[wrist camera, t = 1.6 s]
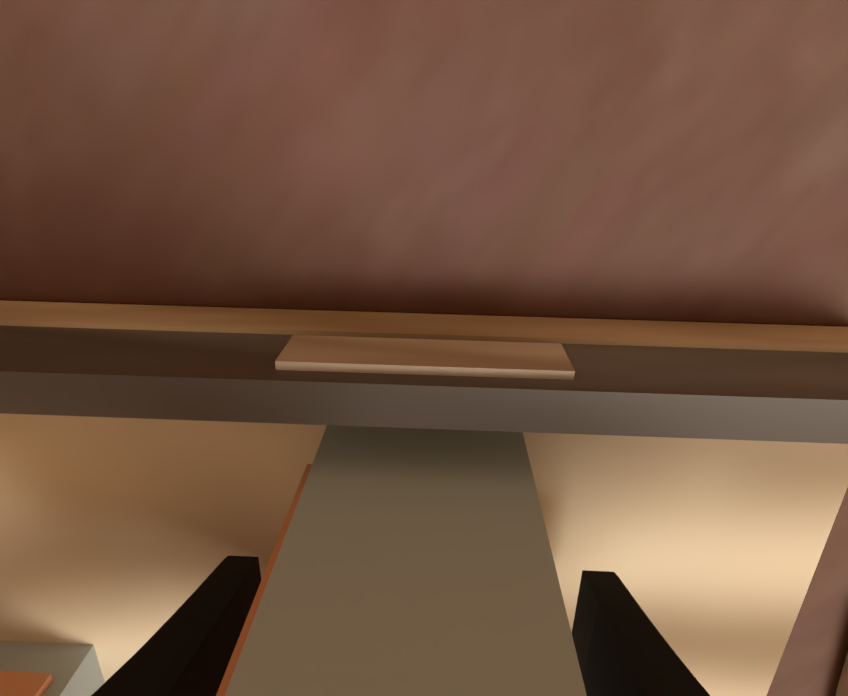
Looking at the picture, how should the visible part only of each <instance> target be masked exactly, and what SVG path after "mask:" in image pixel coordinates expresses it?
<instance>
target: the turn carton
mask: <svg viewBox="0 0 848 696" xmlns="http://www.w3.org/2000/svg"><path fill="white" fill-rule="evenodd" d="M216 696H587V695H586V691H585V686H584V682H583V678H582V674H581V670H580V666H579V662H578V658H577V654H576V650H575V645H574V641H573V637H572V633H571V629H570V625H569V621H568V617H567V613H566V609H565V604H564V600H563V596H562V592H561V588H560V584H559V580H558V576H557V572H556V568H555V563H554V559H553V555H552V551H551V547H550V543H549V539H548V535H547V531H546V527H545V522H544V518H543V514H542V510H541V506H540V502H539V498H538V494H537V490H536V486H535V481H534V477H533V473H532V469H531V465H530V461H529V457H528V453H527V449H526V445H525V440H524V436H523V432H503V431H475V430H447V429H420V428H392V427H364V426H336V425H327V427H326V429H325V432H324V435H323V437H322V440H321V443H320V445H319V448H318V450H317V453H316V456H315V458H314V461H313V464H307V466H306V468H305V471H304V473H303V476H302V478H301V481H300V483H299V486H298V489H297V491H296V494H295V496H294V499H293V501H292V504H291V506H290V509H289V511H288V514H287V516H286V519H285V522H284V524H283V527H282V529H281V532H280V534H279V537H278V539H277V542H276V544H275V547H274V549H273V552H272V555H271V557H270V560H269V562H268V565H267V567H266V570H265V572H264V575H263V577H262V580H261V583H260V585H259V588H258V590H257V593H256V595H255V598H254V600H253V603H252V605H251V608H250V610H249V613H248V616H247V618H246V621H245V623H244V626H243V628H242V631H241V633H240V636H239V638H238V641H237V643H236V646H235V649H234V651H233V654H232V656H231V659H230V661H229V664H228V666H227V669H226V671H225V674H224V676H223V679H222V682H221V684H220V687H219V689H218V692H217V694H216Z"/></svg>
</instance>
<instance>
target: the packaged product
mask: <svg viewBox="0 0 848 696" xmlns="http://www.w3.org/2000/svg"><path fill="white" fill-rule="evenodd" d="M835 696H848V652H847V656H846V659H845V662H844V666H843V669H842V673H841V676H840V679H839V683H838V686H837V691H836V695H835Z"/></svg>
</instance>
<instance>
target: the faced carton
mask: <svg viewBox="0 0 848 696" xmlns="http://www.w3.org/2000/svg"><path fill="white" fill-rule="evenodd" d="M104 683H105V681H104V678H103V675H102V671H101V668H100V665H99V661H98V658H97V655H96V651H95V648H94V645H89V644H67V643H46V642H24V641H2V640H0V696H91V695H92V694H93V693H94V692H95V691H97V690H98V689H99V688H100V687H101V686H102V685H103V684H104Z"/></svg>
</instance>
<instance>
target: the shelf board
mask: <svg viewBox="0 0 848 696" xmlns="http://www.w3.org/2000/svg"><path fill="white" fill-rule="evenodd" d="M327 425H336V426H364V427H392V428H420V429H447V430H475V431H503V432H523V436H524V440H525V445H526V449H527V453H528V457H529V461H530V465H531V469H532V473H533V477H534V481H535V486H536V490H537V494H538V498H539V502H540V506H541V510H542V514H543V518H544V522H545V527H546V531H547V535H548V539H549V543H550V547H551V551H552V555H553V559H554V563H555V568H556V572H557V576H558V580H559V584H560V588H561V592H562V596H563V600H564V604H565V609H566V613H567V617H568V621H569V625H570V629H571V633H572V628H573V622H574V616H575V610H576V605H577V599H578V593H579V587H580V582H581V576H582V570H586V571H610V572H615V573H616V574H617V576H618V577H619V578H620V579H621V581H622V582H623V584H624V585H625V586H626V588H627V589H628V590H629V592H630V593H631V595H632V596H633V597H634V599H635V600H636V601H637V603H638V604H639V606H640V607H641V608H642V610H643V611H644V612H645V614H646V615H647V616H648V618H649V619H650V620H651V622H652V623H653V624H654V626H655V627H656V628H657V630H658V631H659V632H660V634H661V635H662V636H663V638H664V639H665V640H666V641H667V643H668V644H669V645H670V647H671V648H672V649H673V650H674V652H675V653H676V654H677V655H678V657H679V658H680V659H681V660H682V662H683V663H684V664H685V665H686V667H687V668H688V669H689V670H690V672H691V673H692V674H693V675H694V677H695V678H696V679H697V680H698V681H699V683H700V684H701V685H702V686H703V687H704V689H705V690H706V691H707V692H708V693H709V695H710V696H766V695H767V692H768V690H769V687H770V685H771V682H772V680H773V677H774V675H775V672H776V669H777V667H778V664H779V662H780V659H781V657H782V654H783V651H784V649H785V646H786V644H787V641H788V639H789V636H790V633H791V631H792V628H793V626H794V623H795V621H796V618H797V615H798V613H799V610H800V608H801V605H802V603H803V600H804V597H805V595H806V592H807V590H808V587H809V585H810V582H811V579H812V577H813V574H814V572H815V569H816V567H817V564H818V561H819V559H820V556H821V554H822V551H823V549H824V546H825V544H826V541H827V538H828V536H829V533H830V531H831V528H832V526H833V523H834V520H835V518H836V515H837V513H838V510H839V508H840V505H841V502H842V500H843V497H844V495H845V492H846V490H847V487H848V327H841V326H809V325H777V324H744V323H712V322H680V321H648V320H615V319H583V318H551V317H519V316H487V315H454V314H422V313H390V312H358V311H326V310H293V309H261V308H229V307H197V306H165V305H132V304H100V303H68V302H36V301H3V300H0V640H2V641H24V642H46V643H67V644H89V645H94V648H95V651H96V655H97V658H98V661H99V665H100V668H101V671H102V675H103V678H104V681H105V682H106V681H107V680H108V679H109V678H110V677H111V676H112V675H113V674H114V673H115V672H116V671H117V670H119V669H120V668H121V667H122V666H123V665H124V664H125V663H126V662H127V661H128V660H129V659H130V658H131V657H132V656H133V655H134V654H135V653H136V652H137V651H138V650H139V649H140V648H141V647H142V646H143V645H144V644H145V643H146V642H147V641H148V640H149V639H150V638H151V637H152V636H153V635H154V634H155V633H156V632H157V631H158V630H159V629H160V628H161V627H162V625H163V624H164V623H165V622H166V621H167V620H168V619H169V618H170V617H171V616H172V615H173V614H174V613H175V612H176V611H177V610H178V609H179V608H180V607H181V606H182V604H183V603H184V602H185V601H186V600H187V599H188V598H189V597H190V596H191V595H192V594H193V593H194V591H195V590H196V589H197V588H198V587H199V586H200V585H201V584H202V583H203V582H204V580H205V579H206V578H207V577H208V576H209V575H210V574H211V573H212V572H213V570H214V569H215V568H216V567H217V566H218V565H219V564H220V563H221V562H222V561H223V560H224V559H225V558H226V557H227V556H252V557H259V565H260V573H261V580H262V577H263V575H264V572H265V570H266V567H267V565H268V562H269V560H270V557H271V555H272V552H273V549H274V547H275V544H276V542H277V539H278V537H279V534H280V532H281V529H282V527H283V524H284V522H285V519H286V516H287V514H288V511H289V509H290V506H291V504H292V501H293V499H294V496H295V494H296V491H297V489H298V486H299V483H300V481H301V478H302V476H303V473H304V471H305V468H306V466H307V464H313V461H314V458H315V456H316V453H317V450H318V448H319V445H320V443H321V440H322V437H323V435H324V432H325V429H326V427H327Z"/></svg>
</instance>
